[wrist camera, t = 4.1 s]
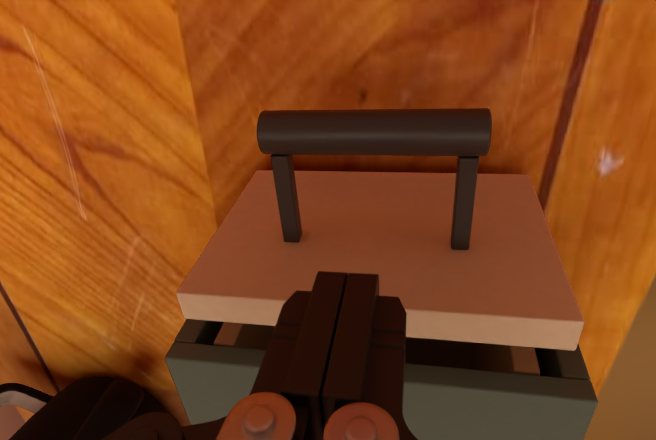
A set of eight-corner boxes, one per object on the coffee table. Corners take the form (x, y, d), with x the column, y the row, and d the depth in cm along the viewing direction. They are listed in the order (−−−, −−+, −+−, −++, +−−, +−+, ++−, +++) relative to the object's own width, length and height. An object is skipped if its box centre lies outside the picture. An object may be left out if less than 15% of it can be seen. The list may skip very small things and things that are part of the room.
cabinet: (257, 198, 24) (163, 358, 16) (532, 206, 22) (599, 402, 13) (292, 387, 33) (243, 558, 24) (492, 409, 30) (518, 608, 22)
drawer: (237, 66, 20) (128, 157, 12) (550, 57, 17) (636, 162, 10) (291, 367, 30) (249, 510, 23) (490, 387, 28) (511, 553, 21)
